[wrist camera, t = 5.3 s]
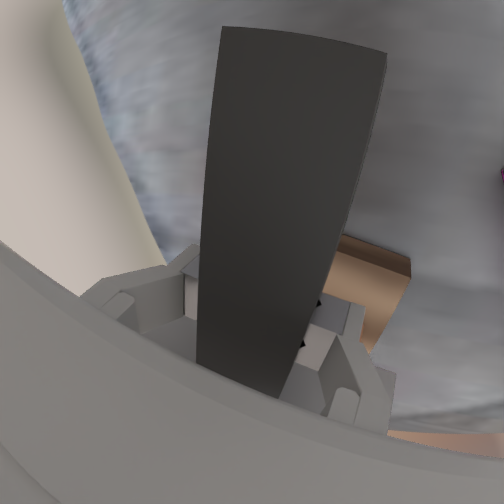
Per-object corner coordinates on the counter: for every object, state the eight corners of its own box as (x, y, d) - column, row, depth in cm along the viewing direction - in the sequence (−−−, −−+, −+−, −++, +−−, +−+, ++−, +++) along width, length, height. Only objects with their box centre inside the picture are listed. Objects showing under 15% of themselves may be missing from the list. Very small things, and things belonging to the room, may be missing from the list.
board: (246, 202, 28) (231, 215, 26) (410, 258, 24) (411, 278, 22) (231, 302, 35) (219, 319, 32) (361, 352, 31) (357, 373, 29)
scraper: (164, 37, 9) (45, 39, 5) (522, 126, 6) (616, 175, 2) (159, 297, 16) (95, 362, 12) (384, 387, 13) (364, 483, 9)
